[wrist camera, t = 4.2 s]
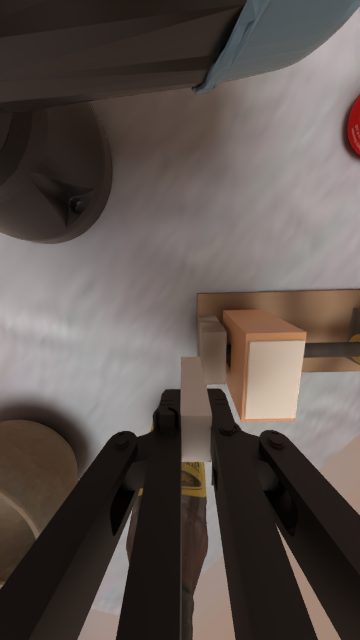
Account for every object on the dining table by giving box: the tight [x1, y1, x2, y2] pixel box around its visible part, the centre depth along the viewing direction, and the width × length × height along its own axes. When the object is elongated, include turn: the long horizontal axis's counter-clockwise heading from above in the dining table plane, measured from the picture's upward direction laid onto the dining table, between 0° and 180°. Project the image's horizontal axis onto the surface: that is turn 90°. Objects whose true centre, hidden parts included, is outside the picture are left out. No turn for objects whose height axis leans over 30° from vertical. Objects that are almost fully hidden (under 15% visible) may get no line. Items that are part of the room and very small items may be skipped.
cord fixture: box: [197, 289, 360, 384], centre depth 19 cm, size 20×10×10 cm, turn 92°
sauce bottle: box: [126, 407, 208, 640], centre depth 18 cm, size 6×6×20 cm
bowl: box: [0, 420, 78, 589], centre depth 24 cm, size 17×18×10 cm
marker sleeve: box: [223, 309, 307, 422], centre depth 18 cm, size 7×4×8 cm, turn 2°
